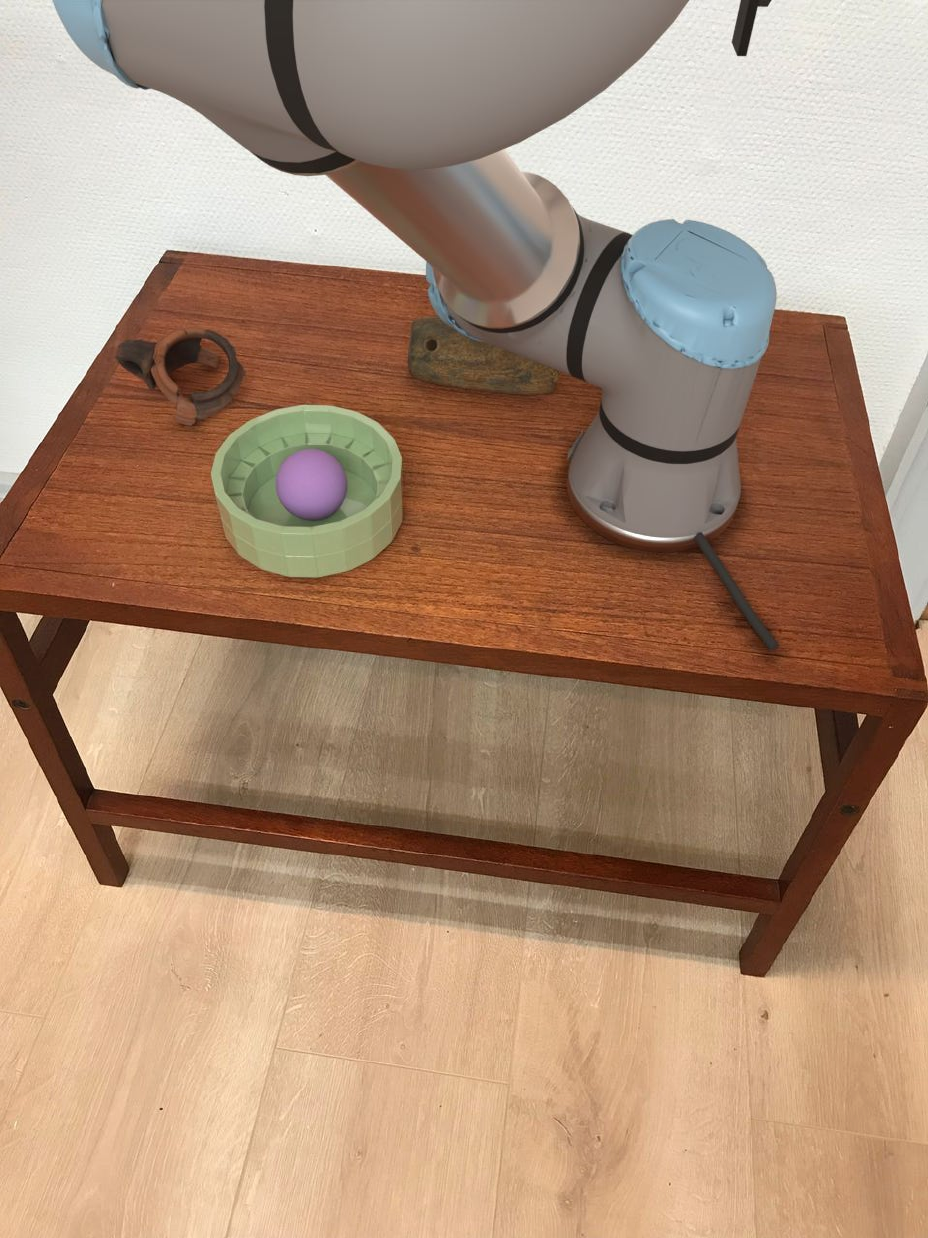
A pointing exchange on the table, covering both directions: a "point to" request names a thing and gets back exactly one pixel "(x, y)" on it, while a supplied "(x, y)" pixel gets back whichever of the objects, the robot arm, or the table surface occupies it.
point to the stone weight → (472, 362)
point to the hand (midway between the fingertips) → (655, 47)
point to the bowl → (292, 541)
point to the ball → (311, 484)
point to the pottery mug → (177, 352)
